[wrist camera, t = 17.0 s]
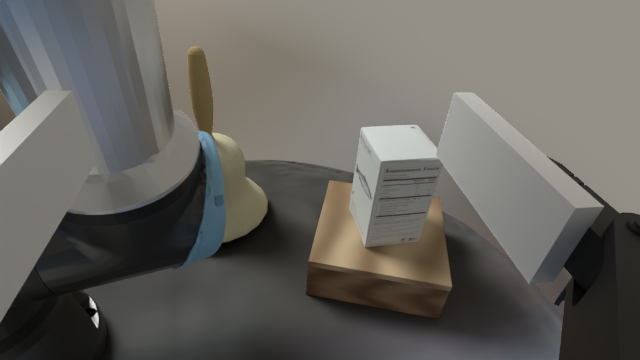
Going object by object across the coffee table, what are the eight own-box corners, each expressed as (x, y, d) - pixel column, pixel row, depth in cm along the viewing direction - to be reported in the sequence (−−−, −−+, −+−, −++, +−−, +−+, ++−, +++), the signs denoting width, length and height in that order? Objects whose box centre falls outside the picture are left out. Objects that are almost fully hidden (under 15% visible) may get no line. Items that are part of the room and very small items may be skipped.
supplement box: (347, 209, 50) (359, 125, 43) (399, 204, 52) (419, 122, 44) (363, 249, 44) (380, 160, 37) (420, 243, 46) (448, 156, 38)
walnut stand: (306, 294, 46) (308, 261, 42) (326, 210, 59) (329, 180, 55) (438, 318, 44) (452, 286, 41) (429, 227, 57) (439, 197, 54)
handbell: (286, 204, 60) (289, 43, 45) (226, 269, 48) (204, 83, 34) (209, 174, 65) (188, 21, 50) (138, 227, 53) (85, 50, 39)
